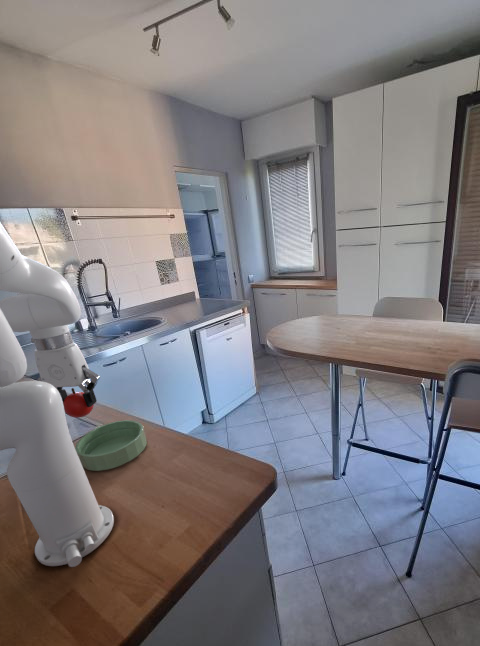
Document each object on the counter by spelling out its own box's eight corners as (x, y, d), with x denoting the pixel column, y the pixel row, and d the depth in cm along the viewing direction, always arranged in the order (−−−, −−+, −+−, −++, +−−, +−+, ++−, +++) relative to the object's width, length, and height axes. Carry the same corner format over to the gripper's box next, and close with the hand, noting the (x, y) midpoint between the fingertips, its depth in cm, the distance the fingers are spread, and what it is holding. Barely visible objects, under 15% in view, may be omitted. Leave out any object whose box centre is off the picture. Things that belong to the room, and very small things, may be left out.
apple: (99, 415, 89) (90, 387, 86) (70, 425, 85) (59, 397, 82) (93, 406, 94) (84, 380, 90) (65, 416, 90) (54, 388, 86)
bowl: (156, 451, 85) (151, 435, 83) (90, 482, 76) (83, 465, 74) (136, 428, 96) (131, 414, 94) (76, 454, 86) (69, 438, 84)
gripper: (7, 348, 78) (36, 413, 85) (78, 345, 77) (102, 411, 84) (32, 337, 85) (57, 399, 92) (97, 334, 84) (117, 396, 91)
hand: (78, 404), depth 88 cm, fingers closed on apple, 6 cm apart
